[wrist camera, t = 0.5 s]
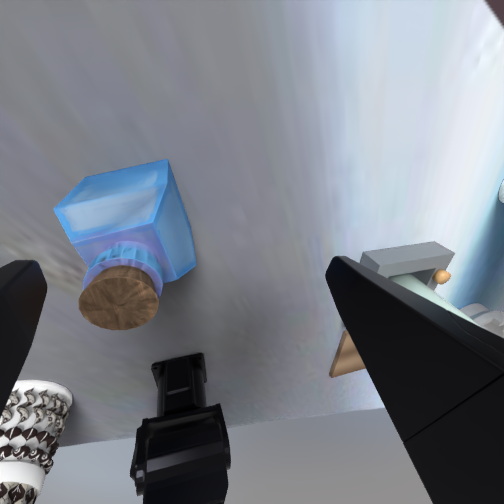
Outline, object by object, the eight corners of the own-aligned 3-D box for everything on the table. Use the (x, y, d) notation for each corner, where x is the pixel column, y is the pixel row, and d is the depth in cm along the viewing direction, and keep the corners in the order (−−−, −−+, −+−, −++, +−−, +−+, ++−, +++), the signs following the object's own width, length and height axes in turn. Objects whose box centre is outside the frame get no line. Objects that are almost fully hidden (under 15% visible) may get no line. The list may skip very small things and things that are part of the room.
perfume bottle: (190, 227, 23) (206, 326, 13) (122, 245, 22) (85, 366, 12) (167, 158, 19) (166, 226, 9) (84, 177, 18) (-10, 272, 9)
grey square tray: (404, 302, 40) (424, 321, 37) (342, 315, 37) (359, 337, 34) (434, 241, 34) (462, 257, 30) (363, 252, 31) (386, 270, 28)
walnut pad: (382, 359, 49) (385, 362, 48) (329, 373, 46) (331, 377, 45) (404, 317, 42) (408, 320, 42) (344, 331, 39) (346, 335, 39)
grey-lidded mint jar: (395, 291, 37) (483, 369, 27) (364, 297, 36) (444, 381, 26) (408, 262, 34) (513, 336, 24) (376, 267, 33) (471, 348, 23)
